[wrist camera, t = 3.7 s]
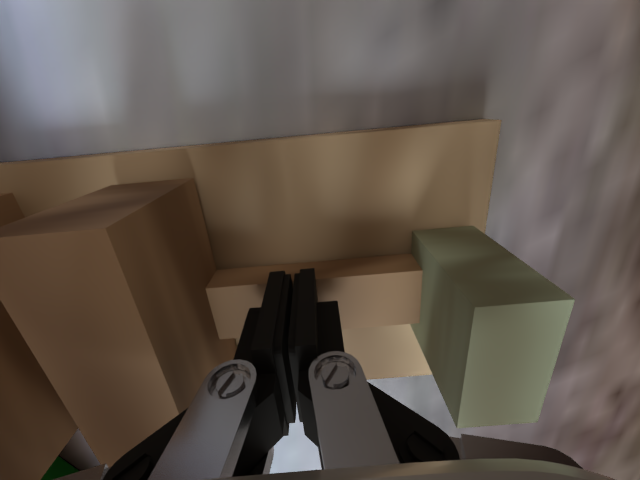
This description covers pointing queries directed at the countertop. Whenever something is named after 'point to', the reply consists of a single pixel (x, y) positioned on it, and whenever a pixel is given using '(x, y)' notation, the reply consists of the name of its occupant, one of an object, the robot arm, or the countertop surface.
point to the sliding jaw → (247, 292)
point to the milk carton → (59, 469)
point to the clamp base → (261, 232)
